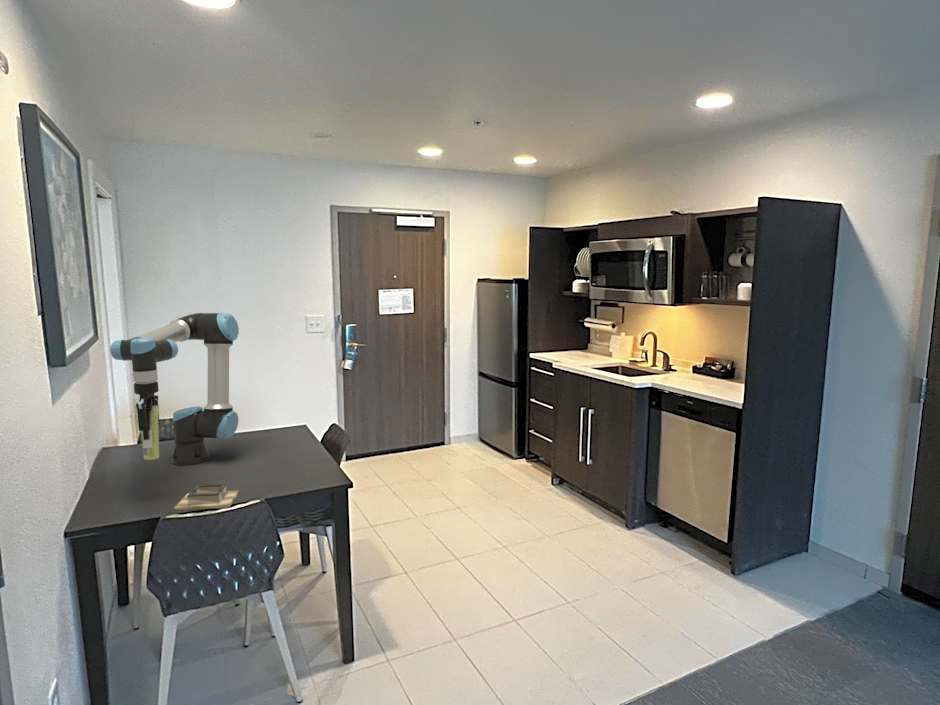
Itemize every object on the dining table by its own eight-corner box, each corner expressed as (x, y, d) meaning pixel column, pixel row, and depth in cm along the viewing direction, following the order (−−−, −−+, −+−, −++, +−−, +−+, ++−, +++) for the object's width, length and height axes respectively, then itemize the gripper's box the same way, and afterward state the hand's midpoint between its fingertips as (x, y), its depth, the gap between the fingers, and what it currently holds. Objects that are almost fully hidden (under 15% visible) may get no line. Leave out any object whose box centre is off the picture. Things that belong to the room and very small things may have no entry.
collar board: (188, 495, 214) (187, 484, 213) (239, 493, 216) (238, 481, 216) (174, 510, 200) (173, 498, 200) (229, 507, 203) (228, 495, 202)
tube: (158, 454, 213) (153, 402, 210) (163, 457, 209) (159, 405, 206) (141, 458, 209) (136, 405, 206) (146, 461, 205) (141, 408, 202)
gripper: (144, 377, 213) (149, 438, 216) (123, 387, 196) (129, 453, 199) (166, 376, 214) (171, 438, 217) (147, 386, 197) (152, 452, 200)
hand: (151, 445), depth 208 cm, fingers closed on tube, 5 cm apart
